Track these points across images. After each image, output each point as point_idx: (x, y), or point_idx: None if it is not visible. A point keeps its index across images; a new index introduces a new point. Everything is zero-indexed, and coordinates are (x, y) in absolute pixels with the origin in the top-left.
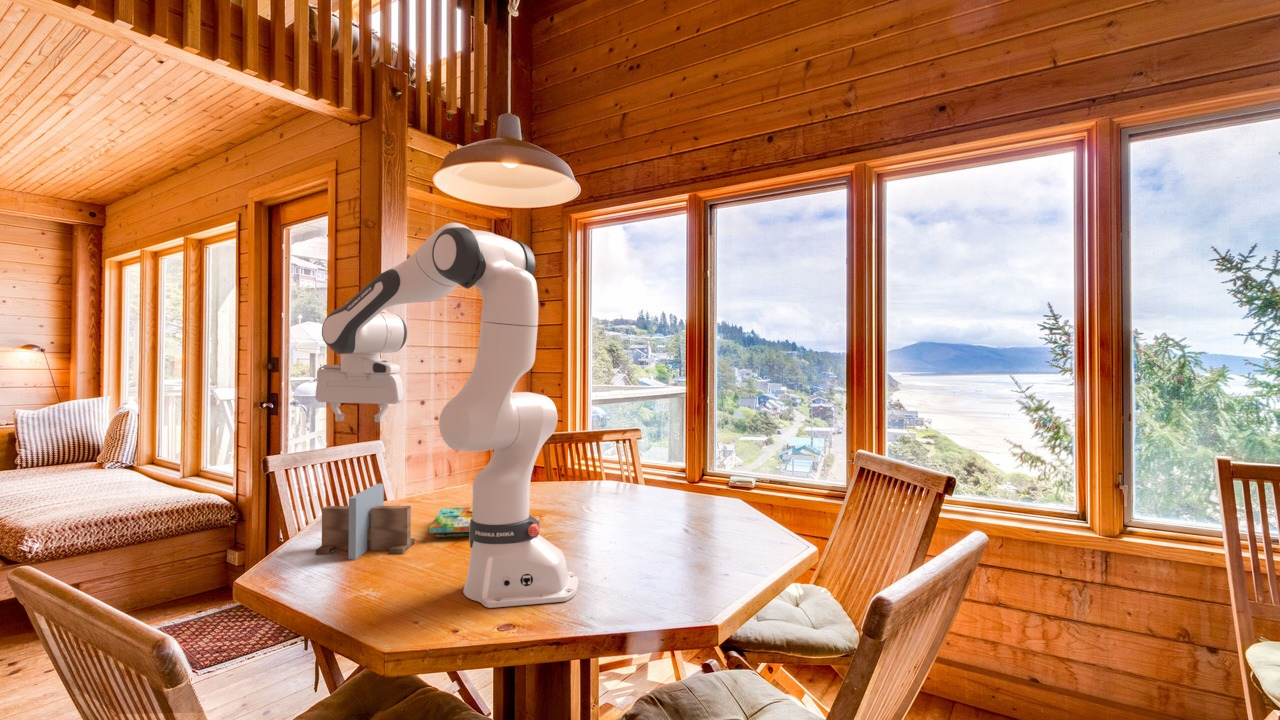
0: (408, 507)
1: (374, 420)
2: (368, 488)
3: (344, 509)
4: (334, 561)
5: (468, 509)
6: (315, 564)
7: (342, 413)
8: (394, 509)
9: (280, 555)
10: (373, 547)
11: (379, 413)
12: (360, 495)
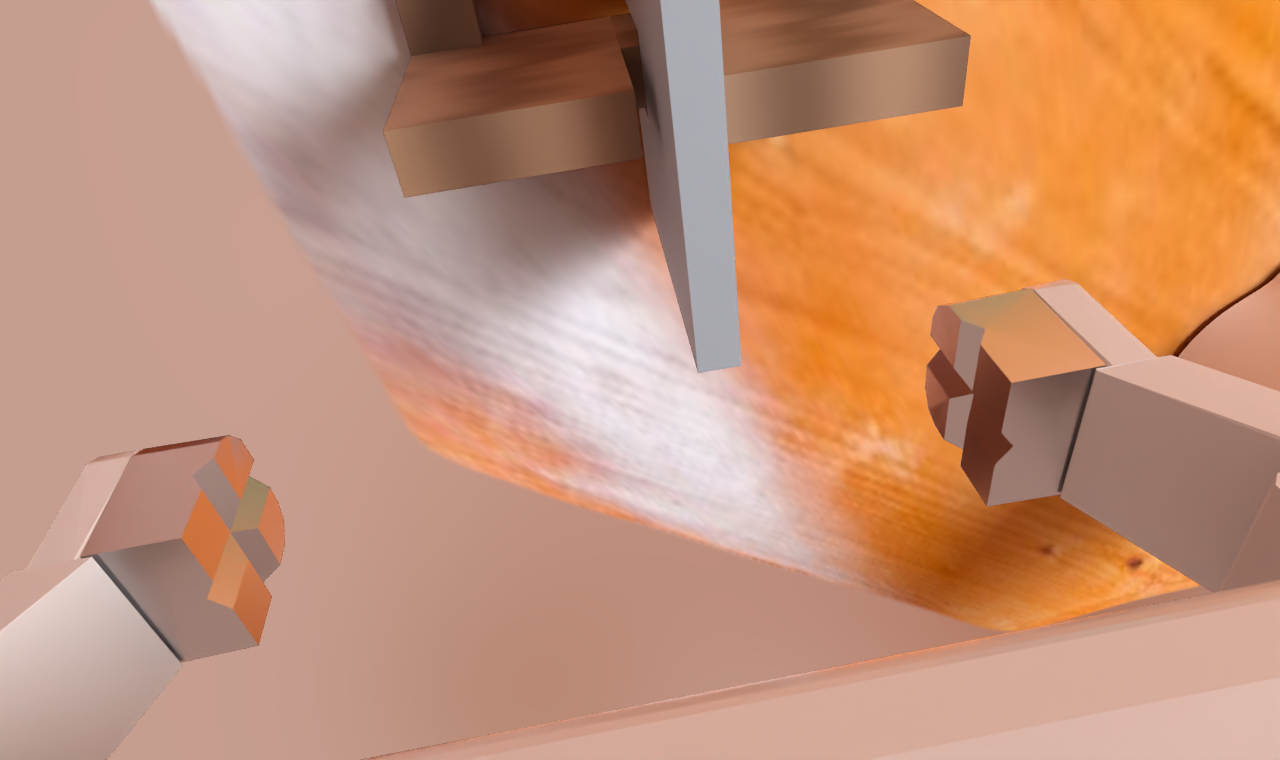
0: (964, 81)
1: (938, 427)
2: (676, 92)
3: (551, 169)
4: (600, 231)
5: None
6: (544, 274)
7: (158, 567)
8: (876, 117)
9: (285, 197)
10: None
11: (1114, 516)
12: (733, 305)
